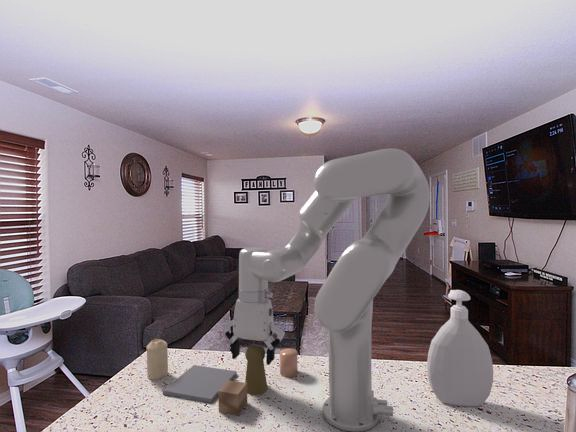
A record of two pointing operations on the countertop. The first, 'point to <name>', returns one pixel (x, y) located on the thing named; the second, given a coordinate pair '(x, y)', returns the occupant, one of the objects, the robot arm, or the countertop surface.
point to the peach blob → (288, 362)
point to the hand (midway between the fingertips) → (252, 359)
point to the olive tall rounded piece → (255, 370)
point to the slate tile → (200, 383)
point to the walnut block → (232, 397)
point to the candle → (157, 359)
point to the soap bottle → (460, 359)
